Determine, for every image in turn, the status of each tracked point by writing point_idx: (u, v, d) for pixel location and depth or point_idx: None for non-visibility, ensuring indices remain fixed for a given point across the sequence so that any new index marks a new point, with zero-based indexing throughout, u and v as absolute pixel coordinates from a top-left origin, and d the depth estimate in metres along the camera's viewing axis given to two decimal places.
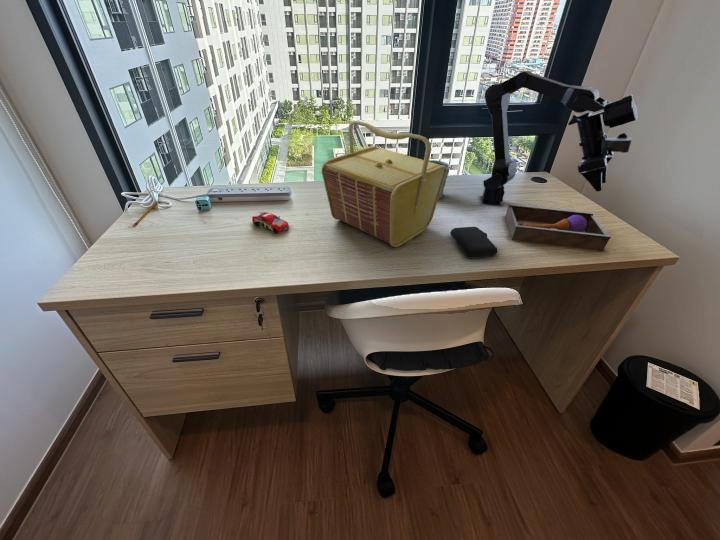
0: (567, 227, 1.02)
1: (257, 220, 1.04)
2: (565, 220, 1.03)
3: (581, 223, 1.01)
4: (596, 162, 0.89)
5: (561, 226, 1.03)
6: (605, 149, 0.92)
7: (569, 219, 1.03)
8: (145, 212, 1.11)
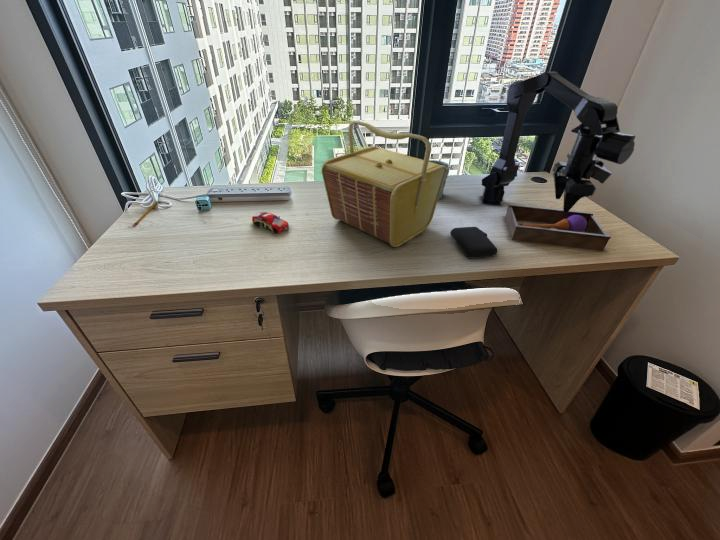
0: (567, 227, 1.02)
1: (257, 220, 1.04)
2: (565, 220, 1.03)
3: (581, 223, 1.01)
4: (589, 189, 0.87)
5: (561, 226, 1.03)
6: (590, 174, 0.90)
7: (569, 219, 1.03)
8: (146, 212, 1.11)
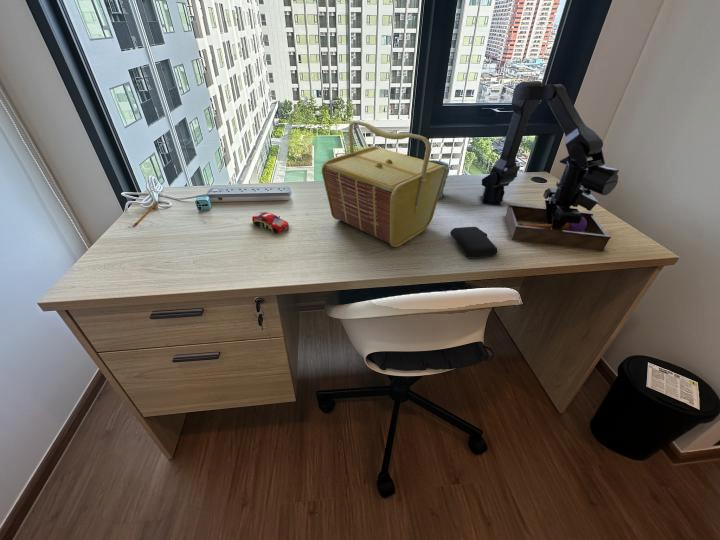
0: (567, 227, 1.02)
1: (257, 220, 1.04)
2: None
3: (581, 223, 1.01)
4: (576, 218, 0.92)
5: None
6: (578, 202, 0.95)
7: None
8: (146, 212, 1.11)
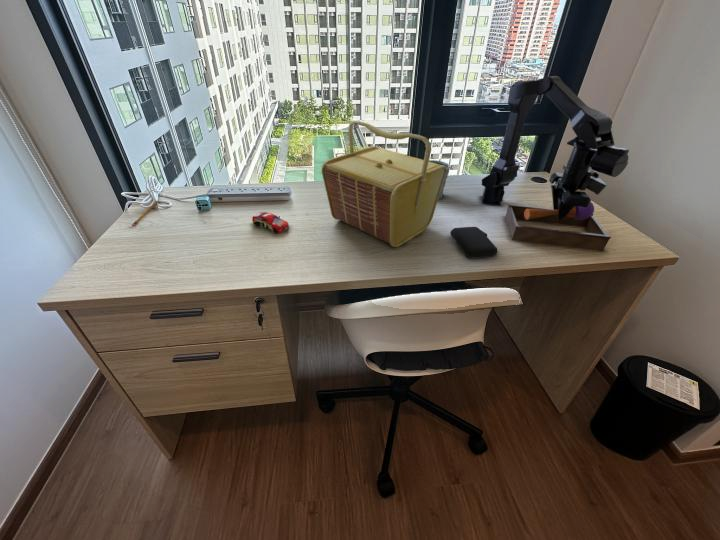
0: (574, 212, 0.99)
1: (257, 220, 1.04)
2: None
3: (589, 208, 0.98)
4: (584, 201, 0.89)
5: None
6: (586, 186, 0.92)
7: None
8: (146, 211, 1.11)
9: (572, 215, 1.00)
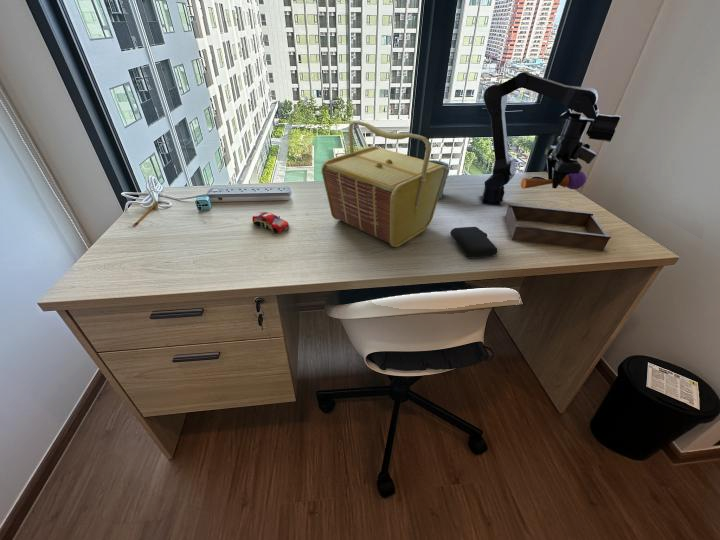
0: (567, 182, 1.07)
1: (257, 220, 1.04)
2: None
3: (581, 177, 1.05)
4: (576, 168, 0.96)
5: None
6: (577, 155, 1.00)
7: (569, 174, 1.08)
8: (146, 212, 1.11)
9: (565, 184, 1.07)
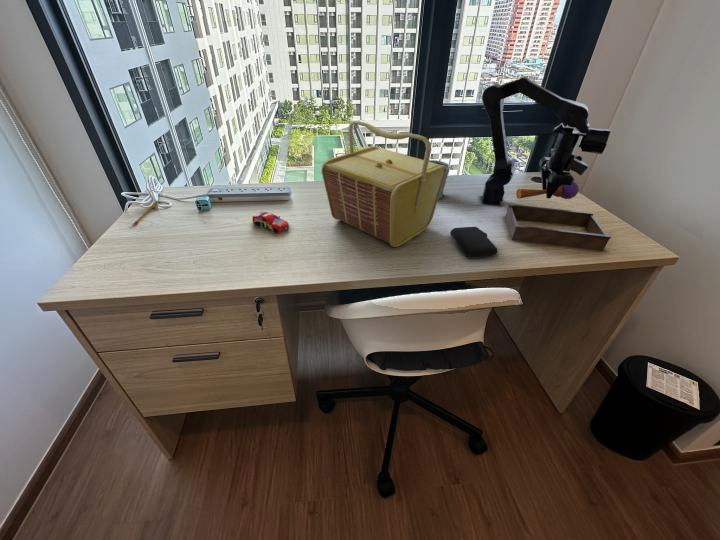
0: (560, 192, 1.11)
1: (257, 220, 1.04)
2: None
3: (573, 188, 1.10)
4: (568, 179, 1.00)
5: None
6: (570, 167, 1.04)
7: (562, 185, 1.12)
8: (146, 211, 1.11)
9: (559, 194, 1.12)
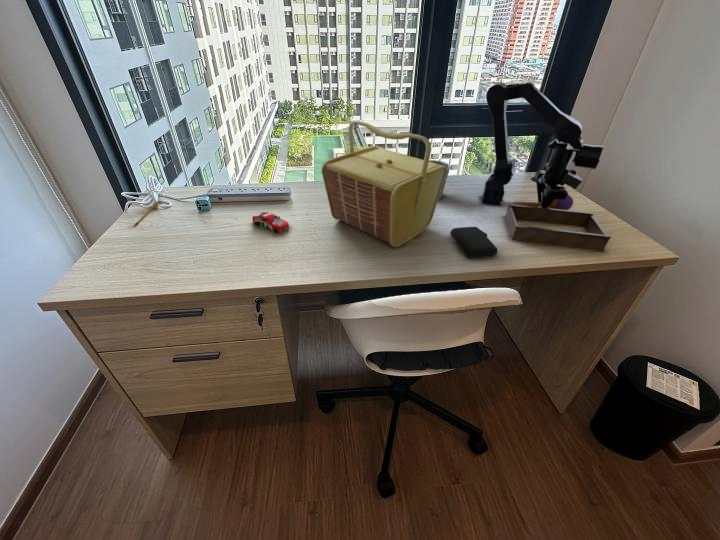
0: (555, 205, 1.14)
1: (257, 220, 1.04)
2: None
3: (568, 201, 1.12)
4: (562, 194, 1.03)
5: None
6: (564, 181, 1.07)
7: None
8: (147, 212, 1.11)
9: (554, 207, 1.14)
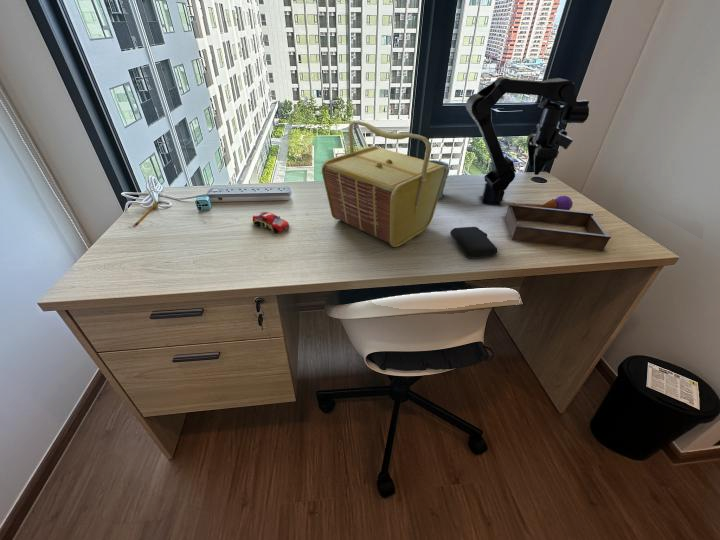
0: (555, 206, 1.14)
1: (257, 220, 1.04)
2: (553, 200, 1.14)
3: (567, 203, 1.13)
4: (553, 152, 1.04)
5: (549, 205, 1.14)
6: (555, 141, 1.08)
7: (557, 199, 1.15)
8: (146, 212, 1.11)
9: None
